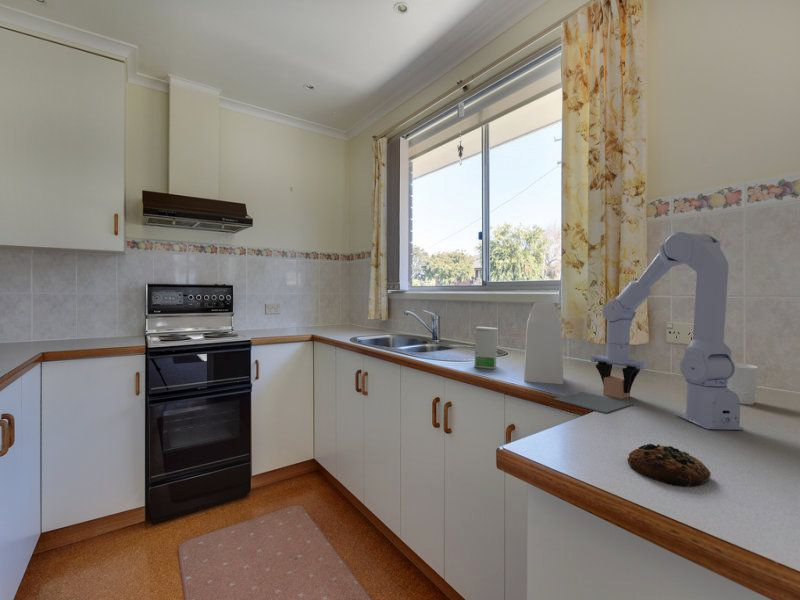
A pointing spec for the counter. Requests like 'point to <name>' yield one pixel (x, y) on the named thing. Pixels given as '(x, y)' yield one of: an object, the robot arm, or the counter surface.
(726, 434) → the counter surface
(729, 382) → the white cup
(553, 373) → the milk
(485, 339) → the skincare box
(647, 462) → the bread roll
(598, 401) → the panel
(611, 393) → the cube
